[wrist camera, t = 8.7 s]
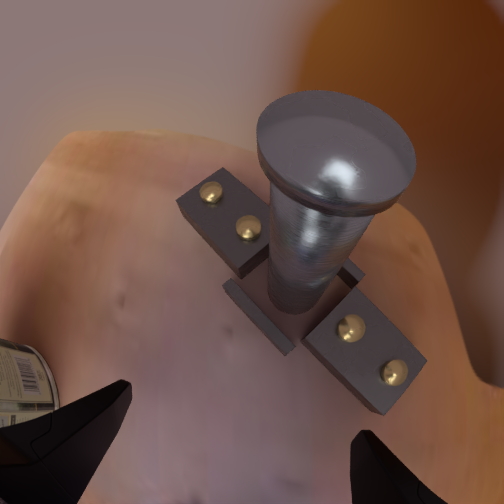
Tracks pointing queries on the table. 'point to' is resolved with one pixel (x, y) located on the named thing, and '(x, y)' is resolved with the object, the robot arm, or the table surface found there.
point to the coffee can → (24, 384)
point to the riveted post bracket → (333, 325)
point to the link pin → (325, 186)
